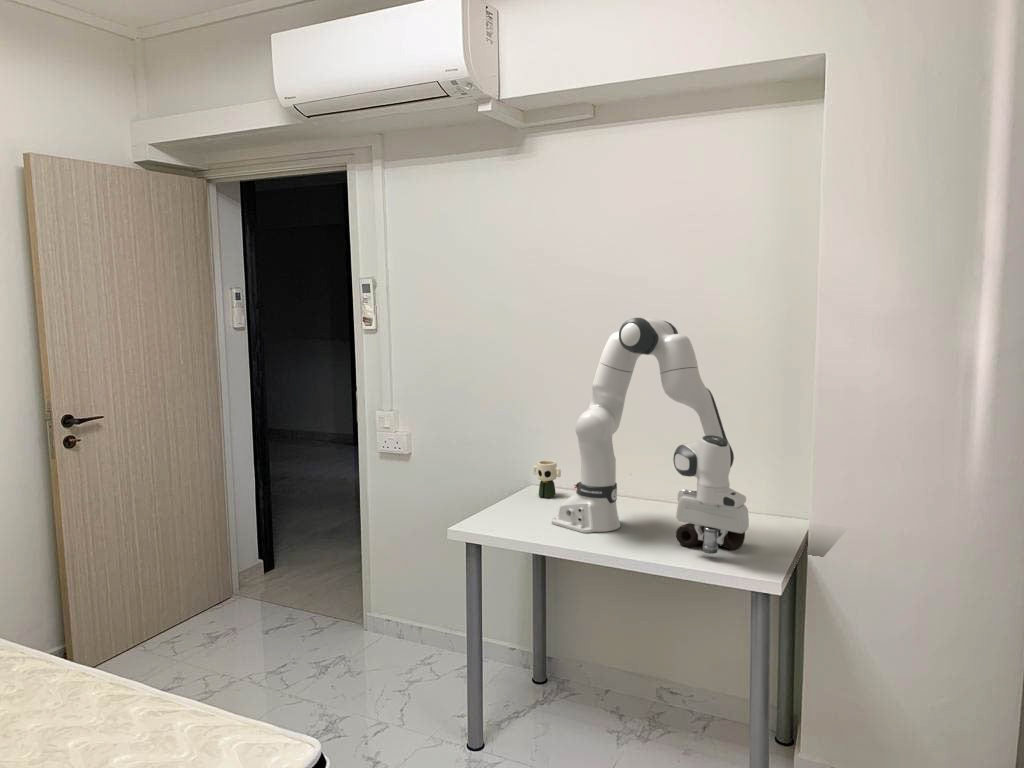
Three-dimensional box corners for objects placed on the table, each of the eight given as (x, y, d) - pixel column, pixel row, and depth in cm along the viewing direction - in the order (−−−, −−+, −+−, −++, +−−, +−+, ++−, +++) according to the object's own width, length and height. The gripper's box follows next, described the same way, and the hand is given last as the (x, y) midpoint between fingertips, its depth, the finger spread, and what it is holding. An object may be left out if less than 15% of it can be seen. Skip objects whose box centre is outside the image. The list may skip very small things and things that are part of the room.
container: (700, 551, 219) (701, 527, 218) (706, 547, 222) (707, 524, 221) (714, 554, 216) (715, 530, 215) (720, 550, 219) (721, 526, 219)
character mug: (529, 497, 286) (529, 462, 284) (537, 492, 292) (537, 459, 291) (556, 500, 281) (556, 465, 279) (564, 496, 287) (564, 461, 286)
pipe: (672, 519, 232) (716, 521, 221) (700, 512, 242) (744, 513, 231) (676, 552, 231) (720, 555, 220) (704, 543, 241) (747, 546, 230)
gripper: (673, 490, 220) (671, 537, 222) (744, 502, 208) (741, 552, 210) (682, 485, 225) (680, 531, 227) (752, 497, 214) (749, 546, 215)
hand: (710, 541), depth 219 cm, fingers closed on container, 4 cm apart
